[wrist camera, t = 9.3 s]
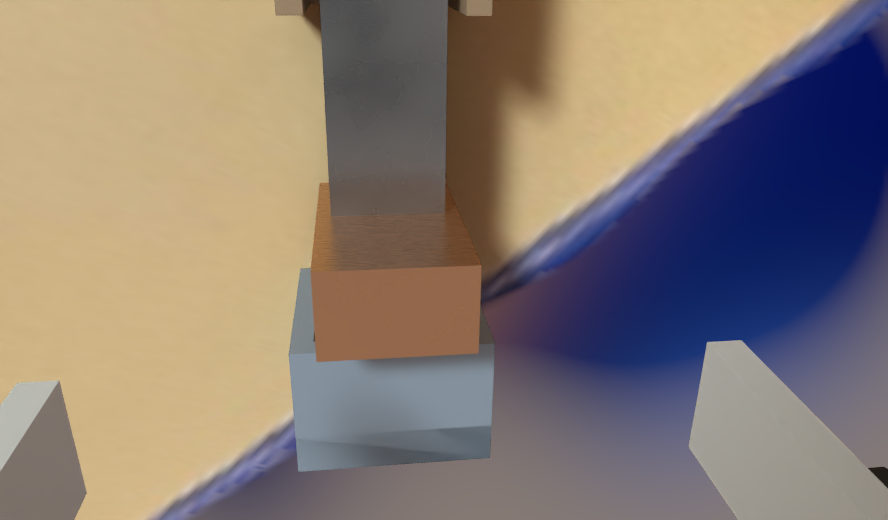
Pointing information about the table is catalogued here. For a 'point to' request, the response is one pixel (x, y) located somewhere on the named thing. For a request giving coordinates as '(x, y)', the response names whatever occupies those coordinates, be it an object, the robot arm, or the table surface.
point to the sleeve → (468, 3)
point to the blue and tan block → (389, 191)
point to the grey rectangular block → (387, 402)
